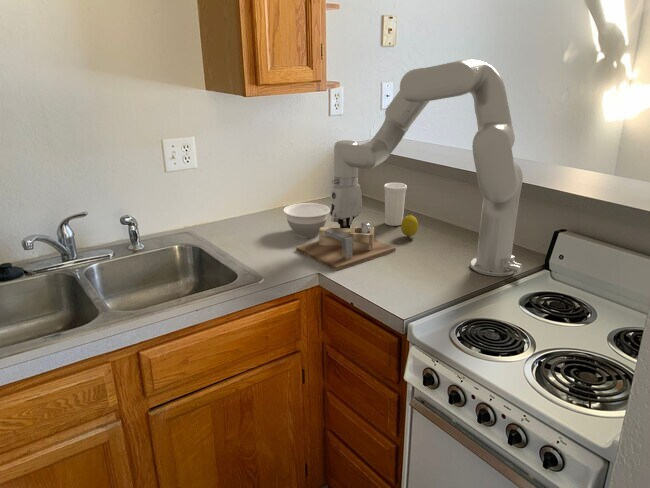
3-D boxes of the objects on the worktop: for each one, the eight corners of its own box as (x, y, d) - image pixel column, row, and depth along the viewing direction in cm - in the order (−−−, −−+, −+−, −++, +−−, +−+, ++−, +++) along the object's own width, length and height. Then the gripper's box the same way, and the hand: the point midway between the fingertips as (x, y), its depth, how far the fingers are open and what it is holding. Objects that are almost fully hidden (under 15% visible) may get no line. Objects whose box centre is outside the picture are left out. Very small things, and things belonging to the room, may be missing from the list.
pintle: (371, 244, 170) (372, 223, 168) (365, 246, 168) (365, 225, 166) (365, 242, 172) (366, 221, 170) (359, 244, 170) (359, 223, 168)
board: (395, 251, 168) (395, 247, 168) (336, 270, 154) (336, 266, 154) (353, 234, 183) (353, 230, 182) (296, 250, 169) (296, 247, 168)
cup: (402, 220, 197) (404, 182, 191) (407, 227, 189) (409, 188, 184) (380, 220, 196) (382, 182, 191) (384, 227, 189) (385, 188, 184)
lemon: (416, 234, 182) (418, 212, 179) (417, 240, 177) (419, 217, 174) (400, 234, 183) (401, 211, 180) (400, 240, 177) (402, 217, 174)
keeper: (352, 258, 160) (352, 237, 157) (346, 260, 158) (346, 239, 156) (331, 248, 167) (331, 228, 165) (325, 250, 166) (325, 230, 163)
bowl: (278, 228, 189) (277, 205, 186) (321, 223, 194) (321, 200, 190) (291, 243, 175) (290, 218, 172) (336, 238, 179) (337, 213, 176)
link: (373, 242, 172) (374, 227, 170) (372, 250, 166) (372, 234, 164) (321, 239, 175) (321, 225, 173) (318, 247, 168) (318, 232, 166)
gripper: (334, 187, 160) (334, 244, 166) (371, 179, 168) (369, 234, 175) (319, 182, 165) (319, 237, 172) (356, 175, 174) (354, 228, 180)
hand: (344, 236), depth 173 cm, fingers closed
